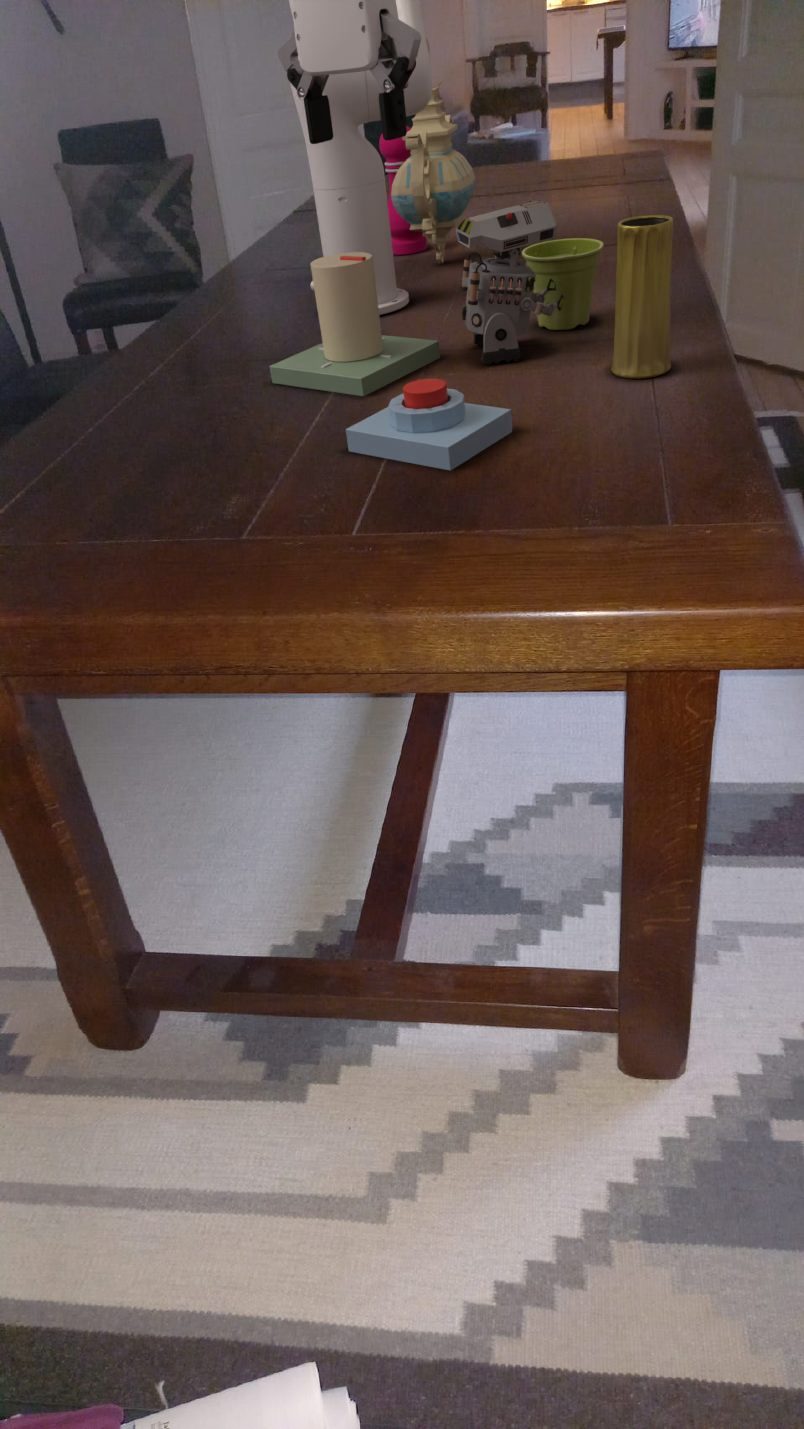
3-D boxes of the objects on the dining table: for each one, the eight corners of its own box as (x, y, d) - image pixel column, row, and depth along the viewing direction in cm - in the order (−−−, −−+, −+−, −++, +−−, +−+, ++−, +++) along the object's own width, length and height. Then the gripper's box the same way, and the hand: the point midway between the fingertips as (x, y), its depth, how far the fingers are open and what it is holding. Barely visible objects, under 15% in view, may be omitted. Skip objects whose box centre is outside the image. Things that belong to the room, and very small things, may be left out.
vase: (674, 360, 104) (681, 212, 96) (667, 379, 99) (674, 225, 91) (616, 361, 106) (618, 216, 98) (606, 380, 101) (607, 229, 93)
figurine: (571, 355, 110) (570, 206, 101) (469, 368, 110) (459, 221, 101) (556, 333, 117) (554, 193, 108) (460, 346, 117) (450, 207, 108)
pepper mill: (438, 246, 167) (426, 109, 155) (415, 256, 162) (402, 115, 150) (402, 246, 170) (388, 112, 159) (379, 256, 165) (363, 118, 154)
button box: (348, 451, 93) (342, 410, 91) (412, 416, 99) (408, 376, 97) (450, 471, 87) (446, 427, 84) (512, 432, 92) (510, 389, 90)
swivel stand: (272, 383, 114) (268, 364, 112) (350, 348, 122) (347, 330, 121) (363, 397, 106) (361, 377, 105) (440, 358, 114) (438, 339, 113)
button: (396, 409, 91) (394, 390, 90) (422, 395, 93) (420, 376, 92) (430, 414, 88) (429, 394, 87) (456, 399, 91) (455, 380, 90)
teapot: (462, 280, 145) (444, 34, 127) (387, 284, 148) (359, 45, 130) (490, 244, 163) (477, 25, 145) (423, 249, 166) (403, 35, 148)
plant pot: (601, 332, 115) (601, 253, 110) (521, 337, 117) (517, 259, 112) (604, 311, 122) (604, 235, 117) (528, 316, 125) (526, 242, 120)
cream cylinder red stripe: (312, 359, 113) (297, 262, 107) (350, 341, 117) (337, 248, 111) (357, 364, 109) (343, 265, 103) (395, 346, 113) (384, 250, 107)
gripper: (431, -89, 88) (447, 130, 98) (290, -60, 97) (318, 137, 107) (380, -87, 83) (403, 143, 93) (237, -57, 93) (271, 149, 103)
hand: (357, 140), depth 100 cm, fingers open, 9 cm apart
